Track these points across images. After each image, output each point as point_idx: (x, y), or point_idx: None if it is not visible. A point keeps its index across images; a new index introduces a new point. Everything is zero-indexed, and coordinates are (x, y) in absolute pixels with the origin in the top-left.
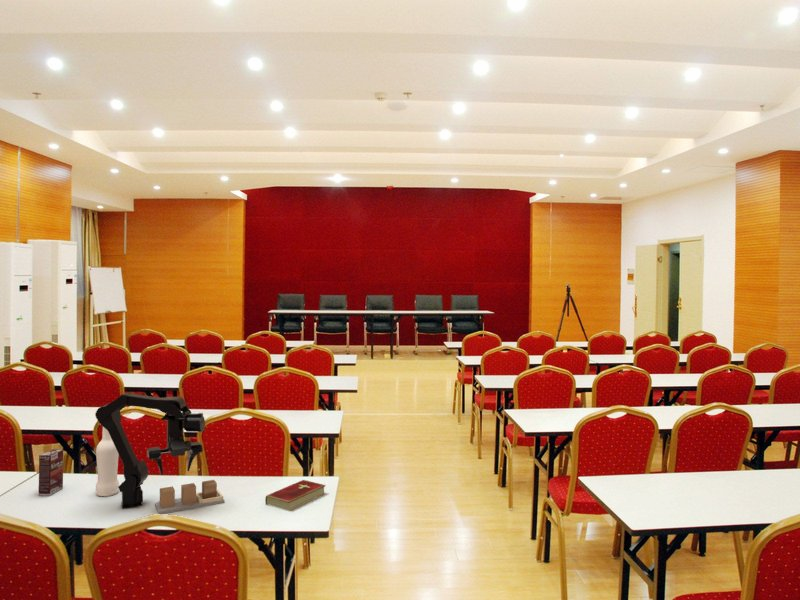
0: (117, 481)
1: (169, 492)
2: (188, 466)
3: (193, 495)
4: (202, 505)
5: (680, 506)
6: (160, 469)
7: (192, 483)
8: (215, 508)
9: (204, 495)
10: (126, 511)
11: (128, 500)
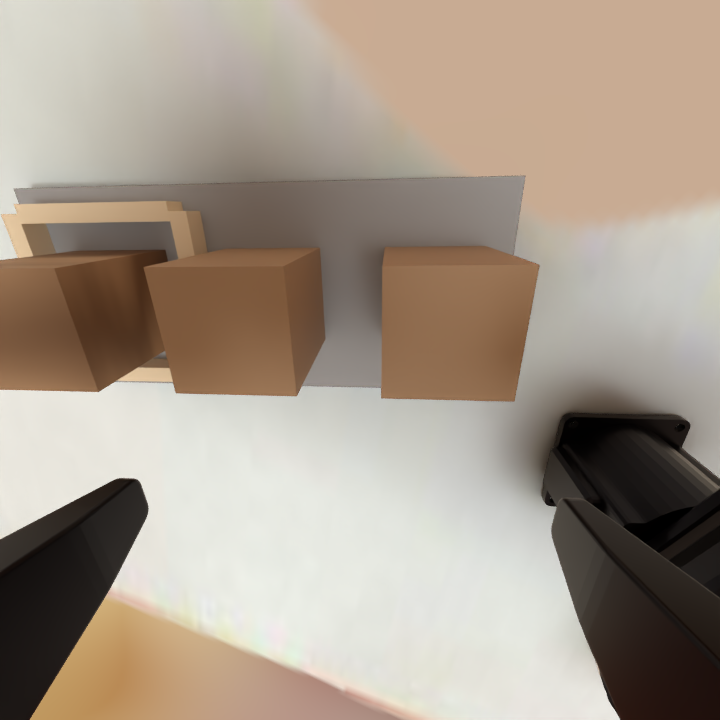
0: None
1: (441, 262)
2: (41, 540)
3: (217, 255)
4: (183, 186)
5: None
6: (717, 610)
7: (187, 383)
8: (87, 89)
9: (136, 255)
10: (681, 366)
11: (678, 453)
